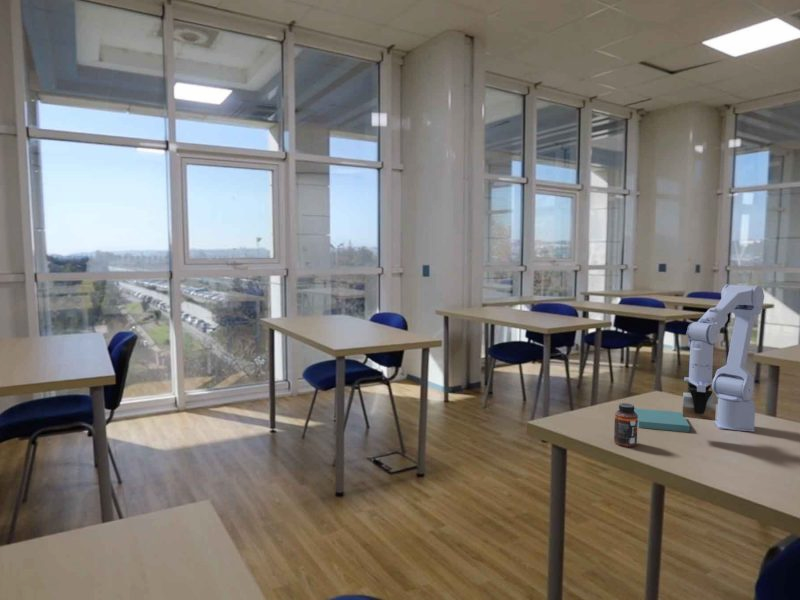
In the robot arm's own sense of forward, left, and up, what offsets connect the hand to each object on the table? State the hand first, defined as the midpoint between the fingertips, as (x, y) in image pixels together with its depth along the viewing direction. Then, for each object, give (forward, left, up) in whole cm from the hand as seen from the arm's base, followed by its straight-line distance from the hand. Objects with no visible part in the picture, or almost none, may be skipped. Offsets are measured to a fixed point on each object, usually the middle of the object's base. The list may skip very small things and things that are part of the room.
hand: (698, 410), depth 149 cm
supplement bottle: (+20, +10, -9) cm, 24 cm away
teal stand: (+8, -13, -9) cm, 18 cm away
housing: (0, 0, -2) cm, 2 cm away
